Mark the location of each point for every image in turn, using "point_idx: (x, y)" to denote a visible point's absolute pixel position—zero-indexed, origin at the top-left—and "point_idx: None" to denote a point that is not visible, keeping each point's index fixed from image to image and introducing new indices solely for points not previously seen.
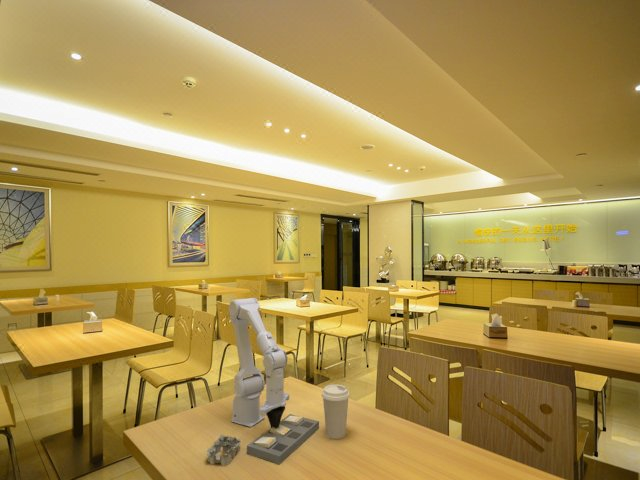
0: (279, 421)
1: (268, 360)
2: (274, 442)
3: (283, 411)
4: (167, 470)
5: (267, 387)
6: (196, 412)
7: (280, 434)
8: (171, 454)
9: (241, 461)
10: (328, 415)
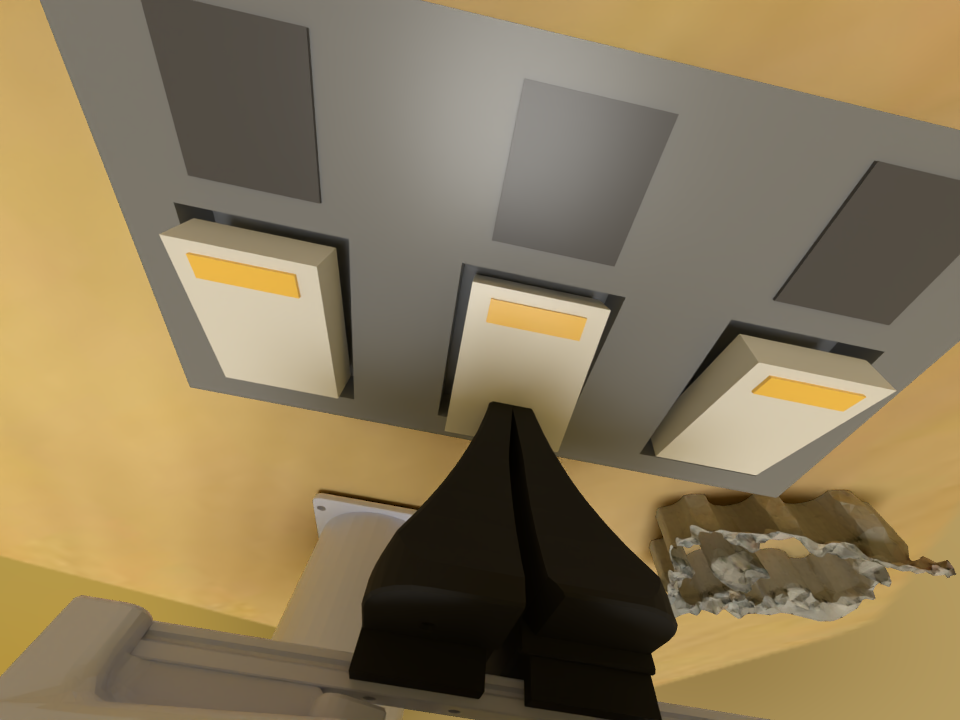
0: (498, 437)
1: None
2: (769, 342)
3: (436, 513)
4: (844, 623)
5: None
6: None
7: (595, 342)
8: (721, 637)
9: (843, 450)
10: None
